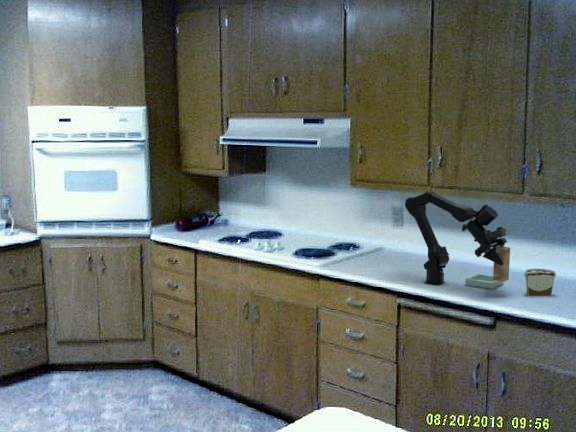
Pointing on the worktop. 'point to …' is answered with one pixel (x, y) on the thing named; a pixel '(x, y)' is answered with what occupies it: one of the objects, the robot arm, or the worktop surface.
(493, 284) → the tray
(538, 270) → the food container
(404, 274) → the worktop surface
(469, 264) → the worktop surface
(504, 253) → the walnut post
